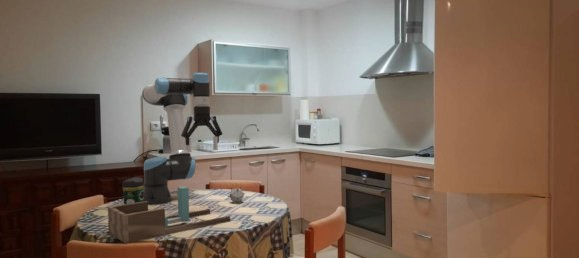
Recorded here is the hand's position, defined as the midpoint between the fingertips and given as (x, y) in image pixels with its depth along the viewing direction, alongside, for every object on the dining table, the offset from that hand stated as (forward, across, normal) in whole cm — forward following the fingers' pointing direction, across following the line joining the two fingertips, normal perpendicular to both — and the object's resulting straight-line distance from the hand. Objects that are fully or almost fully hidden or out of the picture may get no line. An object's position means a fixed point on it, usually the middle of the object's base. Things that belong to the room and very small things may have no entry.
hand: (202, 151), depth 195 cm
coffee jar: (+29, -30, +8) cm, 42 cm away
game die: (+29, +22, +6) cm, 37 cm away
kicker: (+28, -22, -14) cm, 38 cm away
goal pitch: (+29, -22, -14) cm, 39 cm away
